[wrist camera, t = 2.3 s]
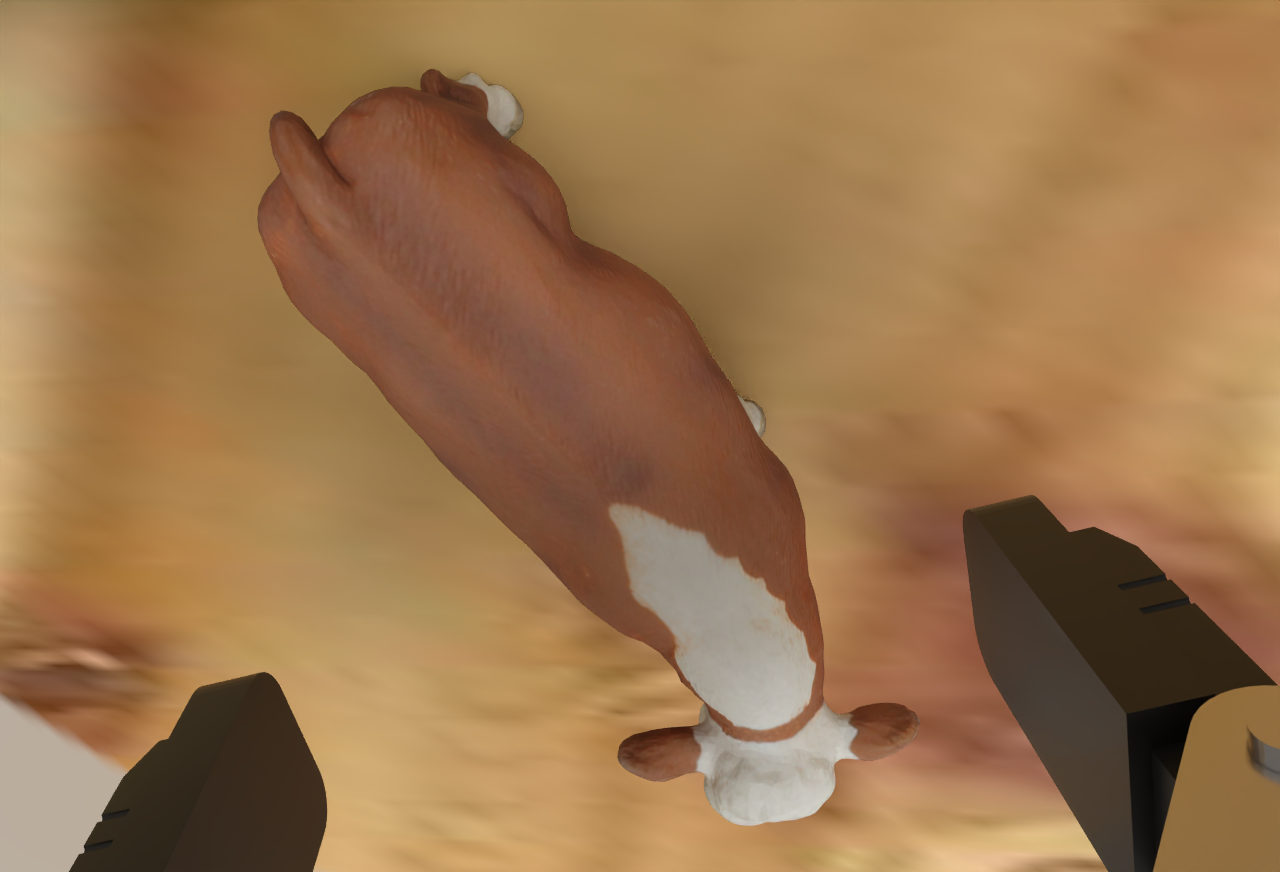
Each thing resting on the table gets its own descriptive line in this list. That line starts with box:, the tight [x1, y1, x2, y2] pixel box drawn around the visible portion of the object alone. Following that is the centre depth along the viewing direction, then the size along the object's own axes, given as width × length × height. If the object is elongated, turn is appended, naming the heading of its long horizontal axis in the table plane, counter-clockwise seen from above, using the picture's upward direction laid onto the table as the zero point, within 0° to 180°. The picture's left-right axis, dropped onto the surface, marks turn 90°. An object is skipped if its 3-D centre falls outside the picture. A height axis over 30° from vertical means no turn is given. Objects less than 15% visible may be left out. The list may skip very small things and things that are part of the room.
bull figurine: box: [258, 69, 920, 826], centre depth 17 cm, size 4×13×8 cm, turn 33°
